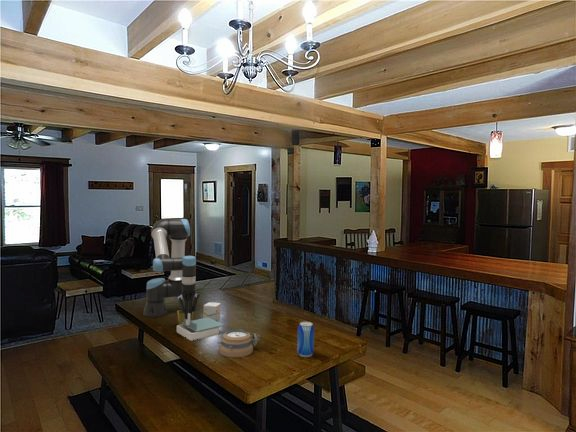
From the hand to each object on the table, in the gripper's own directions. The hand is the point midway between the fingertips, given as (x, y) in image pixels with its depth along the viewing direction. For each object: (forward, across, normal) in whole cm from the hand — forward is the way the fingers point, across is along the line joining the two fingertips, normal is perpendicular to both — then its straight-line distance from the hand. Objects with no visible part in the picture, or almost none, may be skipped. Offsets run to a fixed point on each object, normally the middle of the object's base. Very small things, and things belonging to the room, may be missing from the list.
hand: (188, 324), depth 219 cm
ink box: (+7, +23, +13) cm, 27 cm away
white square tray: (+6, +6, 0) cm, 9 cm away
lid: (+2, +9, 0) cm, 10 cm away
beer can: (+7, +35, -61) cm, 70 cm away
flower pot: (+7, +6, +16) cm, 18 cm away
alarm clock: (+7, +12, -35) cm, 38 cm away
